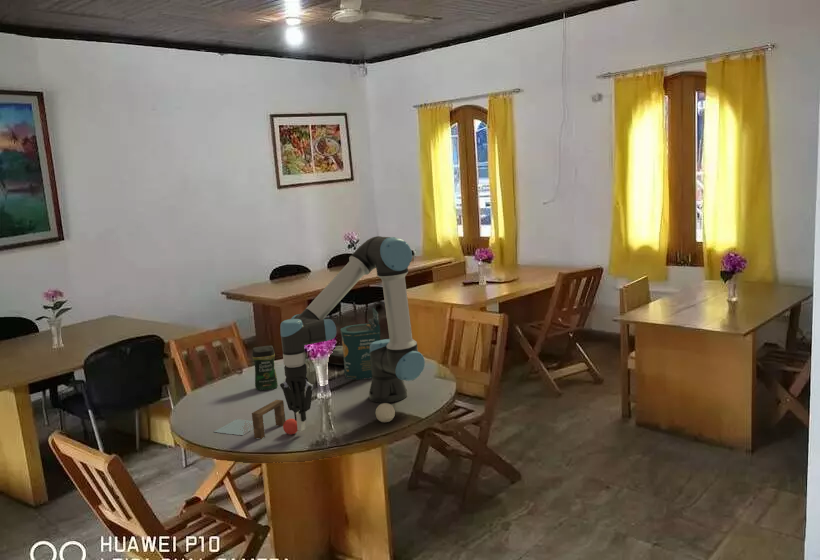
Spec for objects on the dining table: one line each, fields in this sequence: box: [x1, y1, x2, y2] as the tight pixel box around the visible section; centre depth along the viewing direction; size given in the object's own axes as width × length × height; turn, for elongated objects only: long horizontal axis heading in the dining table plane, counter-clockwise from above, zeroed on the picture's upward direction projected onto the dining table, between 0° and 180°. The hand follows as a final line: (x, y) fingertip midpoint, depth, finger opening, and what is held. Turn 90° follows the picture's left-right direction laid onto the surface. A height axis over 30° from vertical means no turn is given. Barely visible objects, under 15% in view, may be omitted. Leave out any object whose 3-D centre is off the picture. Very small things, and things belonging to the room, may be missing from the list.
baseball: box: [375, 402, 396, 423], centre depth 251 cm, size 7×7×7 cm
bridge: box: [251, 399, 286, 440], centre depth 250 cm, size 3×14×9 cm, turn 154°
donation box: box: [340, 307, 381, 381], centre depth 311 cm, size 16×16×28 cm
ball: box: [282, 418, 299, 436], centre depth 246 cm, size 6×6×6 cm
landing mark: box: [213, 418, 253, 436], centre depth 257 cm, size 13×13×1 cm
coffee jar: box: [251, 345, 279, 391], centre depth 301 cm, size 10×8×19 cm
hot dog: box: [328, 345, 344, 366], centre depth 331 cm, size 18×11×8 cm, turn 48°
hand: (301, 429), depth 244 cm, fingers closed
